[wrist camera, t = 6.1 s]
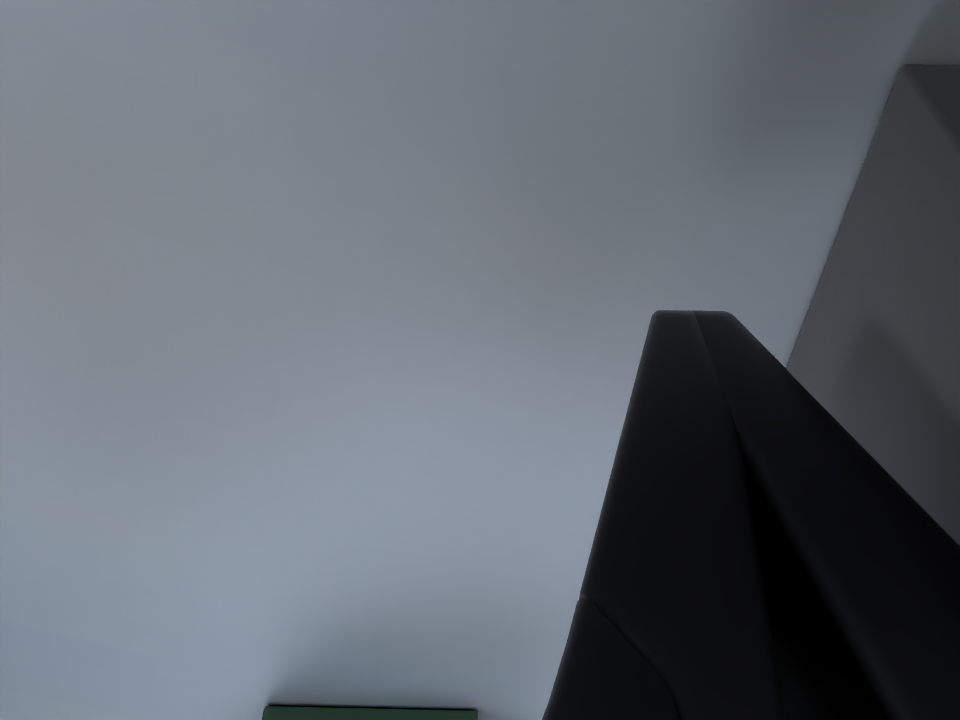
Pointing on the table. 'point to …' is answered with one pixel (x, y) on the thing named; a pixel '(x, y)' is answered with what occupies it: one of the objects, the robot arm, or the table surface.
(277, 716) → the green block
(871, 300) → the charcoal block
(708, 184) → the table surface
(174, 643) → the table surface
